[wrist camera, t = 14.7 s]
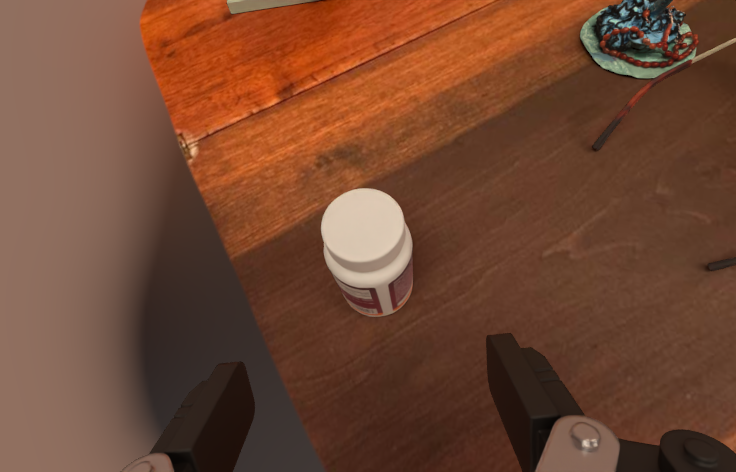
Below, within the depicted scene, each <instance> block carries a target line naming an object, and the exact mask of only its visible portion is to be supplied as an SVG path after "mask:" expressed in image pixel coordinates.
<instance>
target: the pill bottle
mask: <svg viewBox="0 0 736 472" xmlns="http://www.w3.org/2000/svg"><path fill="white" fill-rule="evenodd" d="M321 233H322V238H323V241H324V257H325V261H326V264H327V266H328V268H329V270H330V271H331V273H332V275H333V277H334V278H335V280H336V282H337V284H338V286H339V288H340V290H341V292H342V293H343V296H344V297H345V299H346V301H347V302H348V303H349V305H350V306H351V307H352V308H353V309H355V310H356V311H358V312H359V313H361V314H363V315H366V316H371V317H381V316H386V315H389V314H392V313H394V312H396V311H397V310H399V309H400V308H401V307H402V306H403V305H404V304H405V303H406V301H407V300H408V298H409V296H410V294H411V291H412V286H413V258H412V252H413V251H412V250H413V245H412V238H411V234H410V231H409V229H408V227H407V225H406V224H405V222H404V216H403V213H402V211H401V208H400V207H399V205H398V204H397V202H396V201H395V200H394V199H393V198H392V197H390V196H389V195H387V194H386V193H384V192H382V191H379V190H375V189H368V188H362V189H355V190H351V191H349V192H346V193H344V194H342V195H341V196H339V197H337V198H336V199H335V200H334V201H333V202H332V203H331V204H330V205H329V206H328V208H327V209H326V211H325V213H324V215H323V218H322V223H321Z"/></svg>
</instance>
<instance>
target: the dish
mask: <svg viewBox="0 0 736 472" xmlns="http://www.w3.org/2000/svg"><path fill="white" fill-rule="evenodd" d="M672 1H673V0H623V1H622V2H621V4H620V5H616V4H615V5H613V6H611V5H609V6H608V7H607V8H603V10H601V11H599V12H598V13H597V14H595V15H594V16H593V17H592V18H590V19H588V21H587V22H586V23H585V24H584V25H583V27H582V29H581V32H580V38H581V41H582V43H583V44H584V45H585V48H586V49H587V50H588V52H589V53H590V54H591V55H592V57H593V59H594V60H595V61H596V62H597V63H598V64H599V65H600V66H601V67H603V68H605V69H607V70H610V71H612V72H615V73H618V74H623V75H631V76H633V77H636V78H655V77H657V76H659V75H660V74H662V73H664V72H666V71H668V70H670V69H672V68H674V67H676V66H678V65H680V64H682V63H684V62H686V61H688V60H690V59H692V58H694V57H695V53H696V46H697V45H698V43H699V40H697V38H698V35H697V34H695V35H693V34H692V32H691V30H690V28H689V27H688V25H687V24H685V23H683V19H684V16H686V14H685V15H684V12H681V11H677V10H676V9H675V7H674V6H671V7H674V9H670V7H669V8H666V7H667V6H668V5H669V4H670V3H671V2H672ZM632 47H634V48H636V49H639V50H635V49H632Z"/></svg>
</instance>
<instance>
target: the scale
mask: <svg viewBox="0 0 736 472" xmlns="http://www.w3.org/2000/svg"><path fill="white" fill-rule="evenodd" d="M312 1H319V0H227V5H228V8H229V10H230V12H231V14H235V13H241V12H248V11H254V10H261V9H267V8H274V7H280V6H286V5H293V4H299V3H306V2H312Z"/></svg>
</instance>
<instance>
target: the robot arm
mask: <svg viewBox="0 0 736 472" xmlns="http://www.w3.org/2000/svg"><path fill="white" fill-rule="evenodd" d="M486 348H487V371H488V382H489V387H490V391H491V395H492V397H493V400H494V402H495V405H496V407H497V410H498V412H499V415H500V417H501V419H502V422H503V424H504V427H505V429H506V432H507V434H508V437H509V439H510V442H511V444H512V446H513V449H514V451H515V454H516V456H517V459H518V461H519V464H520V466H521V468H522V471H523V472H736V454H735V453H734V452H733V451H732V450H731V449H730V448H728V447H727V446H726V445H724V444H723V443H721V442H719V441H718V440H716V439H714V438H712V437H710V436H707V435H705V434H702V433H699V432H695V431H690V430H672V431H669V432H667V433H665V434H664V435H663V436H662V438H661V440H660V446H657V445H651V444H645V443H639V442H633V441H627V440H623V439H619V438H617V436H616V435H615V433H614V432H613V431H612V430H611V429H610V428H609V427H607V426H606V425H605V424H603V423H601V422H599V421H598V420H595V419H593V418H590V417H586V416H585V415H584V413H583V412H582V410H581V409H580V407H579V406H578V404H577V403H576V401H575V400H574V399H573V397H572V396H571V394H570V393H569V391H568V390H567V388H566V387H565V385H564V384H563V382H562V381H561V380H560V379H559V377H558V375H557V374H556V372H555V371H553V368H552V366H551V365H550V364H549V362H548V361H547V359H546V358H545V356H543V355H542V354H540V353H539V352H537V351H536V350H534V349H533V348H531V347H528V348H520V346H519V345H518V343H517V341H516V340H515V338H514V337H513V335H512V334H511V333H505V334H496V335H487V337H486ZM254 412H255V402H254V397H253V393H252V390H251V386H250V382H249V379H248V375H247V371H246V367H245V365H244V363H243V362H232V363H222V364H218V365H217V366H216V368H215V369H214V371H213V373H212V374H211V376H210V378H209V379H208V381H202V382H201V383H200V384H199V385H198V386H196V387H195V388H194V389H193V390H192V391H191V392H189V394H188V395H187V397H186V398H185V400H184V401H183V403H182V405H181V408H179V409H178V411H177V412H176V414H175V415H174V418H173V419H172V420H171V421H170V423H169V425H168V426H167V427H166V429H165V430H164V432H163V434H162V435H161V437H160V438H159V440H158V441H157V443H156V444H155V446H154V447H153V449H152V450H151V452H150V453H149V454H148V455H145V456H143V457H141V458H138V459H136V460H135V461H133V462H132V463H130V464H129V465H127V466H126V467H125V468H124V469H123V470H122V471H121V472H233V470H234V467H235V465H236V462H237V459H238V457H239V454H240V452H241V449H242V447H243V444H244V441H245V439H246V436H247V434H248V431H249V429H250V426H251V423H252V421H253V417H254Z"/></svg>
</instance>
